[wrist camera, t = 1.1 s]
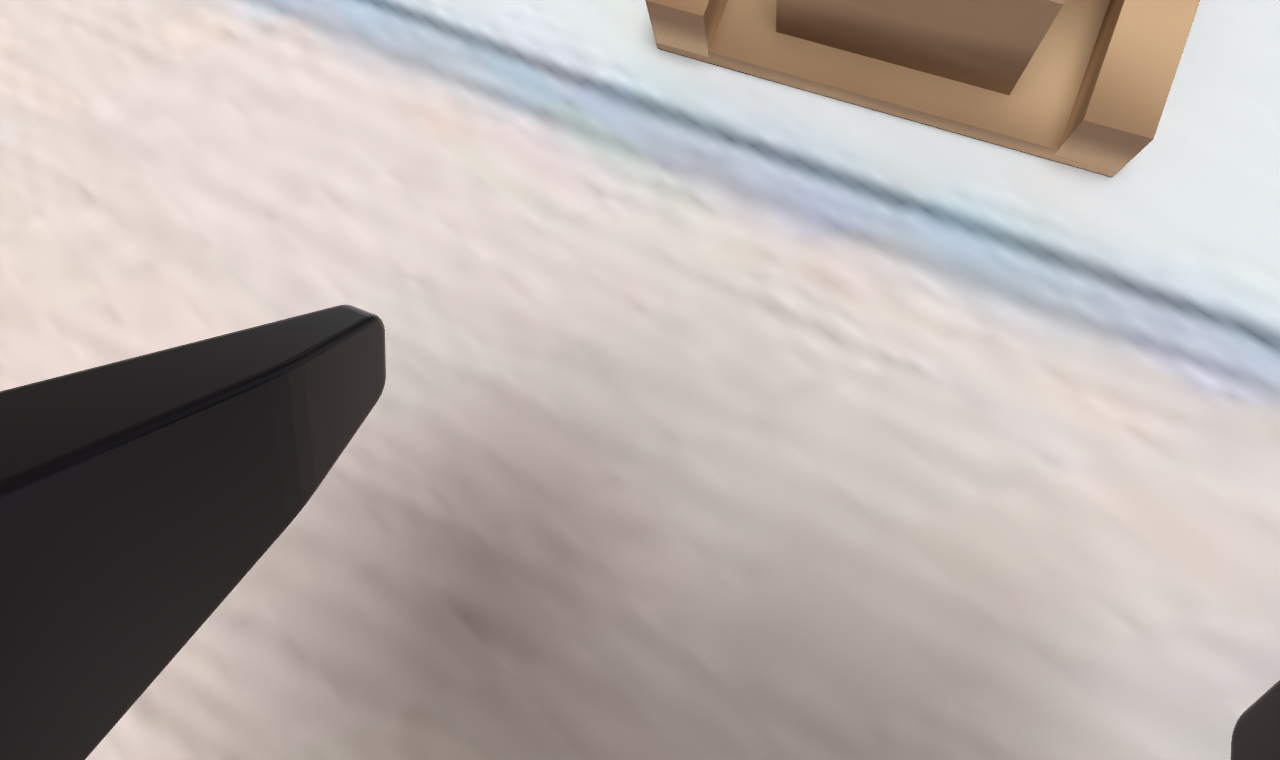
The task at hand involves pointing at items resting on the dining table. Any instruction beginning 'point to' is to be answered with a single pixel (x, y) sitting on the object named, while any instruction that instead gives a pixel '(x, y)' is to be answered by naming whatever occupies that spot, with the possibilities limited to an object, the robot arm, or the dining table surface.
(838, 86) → the wooden u-channel cradle
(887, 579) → the dining table surface
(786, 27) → the peg on square base
